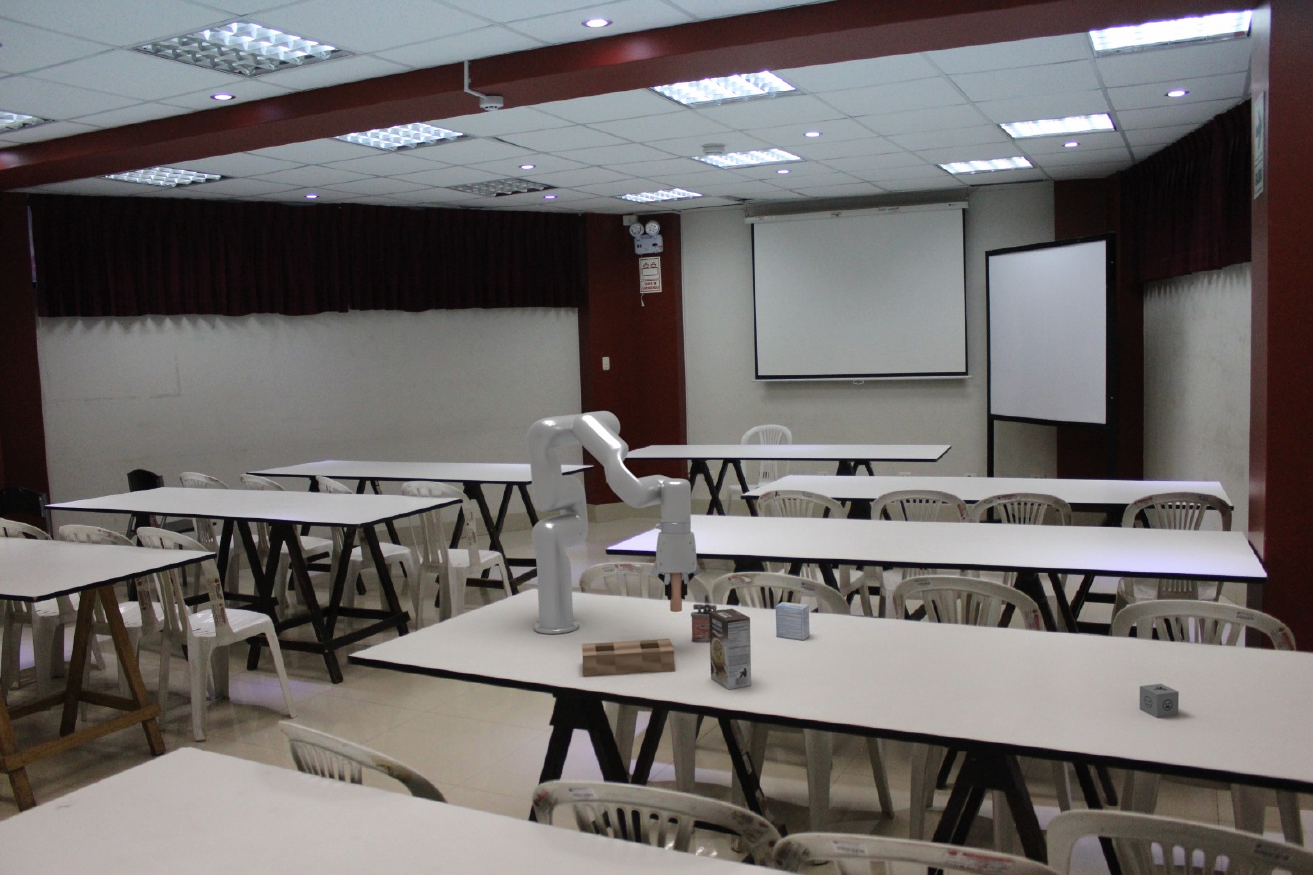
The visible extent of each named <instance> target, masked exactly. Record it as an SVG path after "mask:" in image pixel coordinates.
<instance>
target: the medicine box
mask: <svg viewBox="0 0 1313 875" xmlns="http://www.w3.org/2000/svg"><path fill="white" fill-rule="evenodd" d="M809 606H810V605H809V604H804V603H803V604H801V603H795V602H786V601H783V602H782V601H781V602H780V603H778V604H777V605H775V628H776V629H775V631H776V632H775V633H776V634H775V635H776V637H777V638H784V639H791V640H797V641H798V640H799V641H804V640H806V639H807V638H808V637H810V635H811V634H810V632H811V631H810V609H809V608H810V607H809Z"/></svg>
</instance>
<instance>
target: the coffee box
mask: <svg viewBox="0 0 1313 875" xmlns="http://www.w3.org/2000/svg"><path fill="white" fill-rule="evenodd" d="M709 630H710V643H709V655H710V657H709V658H710V678H711V679H712V680H713V681H715V682H716V683H718V684H720V685H721V686H722V687H724V688H725V689H727V690H732V689H734V690H735V689H738V688H745V687H749V686H752V663H751V662H752V661H751V660H752V659H751V657H752V654H751V617H750V616H748V615H746V614H743V613H742V612H740V611H737V610H736V609H734V608H727V609H726V608H725V609H716V610H715V611H713V610H712V611H710V612H709Z"/></svg>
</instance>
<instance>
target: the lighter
mask: <svg viewBox="0 0 1313 875" xmlns="http://www.w3.org/2000/svg"><path fill="white" fill-rule="evenodd" d="M692 606H693V607H692V608H693V610H697V611H692V612H690V617H691V642H692V643H699V644H700V643H705V644H706V643H709V644H710V630H709V612H710V611H715V610H718V609H717V604H710V603H709V602H706V603H704V604H702V603H694V604H693V605H692Z"/></svg>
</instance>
